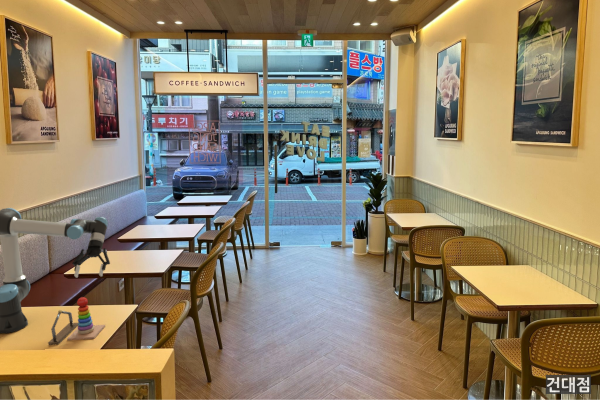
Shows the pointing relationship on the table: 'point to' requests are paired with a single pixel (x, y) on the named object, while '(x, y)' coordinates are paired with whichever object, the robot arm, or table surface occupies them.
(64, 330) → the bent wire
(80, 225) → the robot arm
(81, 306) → the stacking toy
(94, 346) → the table surface
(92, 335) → the terracotta pad
